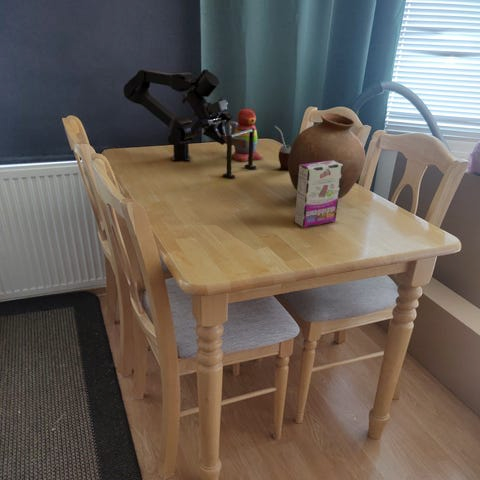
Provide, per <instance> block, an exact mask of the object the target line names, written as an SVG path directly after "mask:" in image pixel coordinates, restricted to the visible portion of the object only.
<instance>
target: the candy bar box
mask: <svg viewBox="0 0 480 480" xmlns="http://www.w3.org/2000/svg"><path fill="white" fill-rule="evenodd" d="M342 166H343V164H340V163H338V162H335V161H334V160H331V161H323V162H316V163H309V164H302V165H299V177H298V188H297V190H296V201H295V202H296V203H295V204H296V205H295V214H294V223H295V224H296V225H298V226H300V227H301V228H303V229H304V228H305V229H306V228H313V227H317V226H322V225H327V224H330V223H331V224H332V223H335V222H336V218H337V211H338V204H339V203H338V202H339V199H338V196H339V189H340V181H341V174H342Z"/></svg>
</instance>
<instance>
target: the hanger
mask: <svg viewBox="0 0 480 480" xmlns="http://www.w3.org/2000/svg"><path fill="white" fill-rule="evenodd" d="M232 125H234V126H235V128H237V126H238V125H239V122H238V121H232V120H230V121H229V122H228V135H232ZM220 135H221V134H220ZM221 137H222V139H223V141H224V145H227V134H226V135H221ZM248 141H249V140H246V139H241V138H236V137H235V138H232V146H233V147H234V146H239V147H243V148H247V147H248Z"/></svg>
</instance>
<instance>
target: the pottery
mask: <svg viewBox="0 0 480 480" xmlns="http://www.w3.org/2000/svg"><path fill="white" fill-rule="evenodd" d="M320 117H321V120H322V122H319V123H316V124H313V125H311V126H309V127H307V128H305V129H303V130H302V131H301V132H300V133H299V134H298V135H297V136H296V137H295V139H294V140H293V142H292V145H291V146H292V147H291V150H290V154H289V158H288V170H287V171H288V174H289V178H290V181H291V185H292V186H293V189H295V190H296V191H297V188H298V177H299V165H302V164H309V163H316V162H323V161H331V160H334V161H335V162H338V163H340V164H343V166H342V174H341V181H340V189H339V196H338V200H339V199H342V198H344V197H345V196H346V195H347V194H348V193H349V192H350V191H351V189H352V188H353V187H354V185H355V184H356V182H357V181H358V180H359V178H360V176H361V174H362V172H363V170H364V166H365V163H366V151H365V148H364V145H363V144H362V141H361V140H360V139H359V137H357V136H356V135H355V134H354V133H353V132H352V130H351V128H353V126H354V125H355V121H354V120H352V119H351V118H349V117H347V116H345V115H341V114H340V113H334V112H324V113H322V114H321V115H320Z"/></svg>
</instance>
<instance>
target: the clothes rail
mask: <svg viewBox="0 0 480 480" xmlns="http://www.w3.org/2000/svg"><path fill="white" fill-rule="evenodd" d="M247 133H249V157H248V160H247V161H248V163H247V164H245V165H244V169H249V170H253V171H254V170H256V169H257V166H256V165H253V164H254V160H253V144H254V128H250V129H248V130H245V131H242V132H239V133H235V132H234V133H233V134H232V133H231V135H229V134H228V135H227V134H226V136H227V144H226V172H224V173H223V174H222V177H223V178H226V179H229V180H233V179H235V178H236V175H235V174H232V155H233V154H232V152H233V151H232V149H233V145H232V138H235V137H238V136H241V135H244V134H247Z"/></svg>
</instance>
